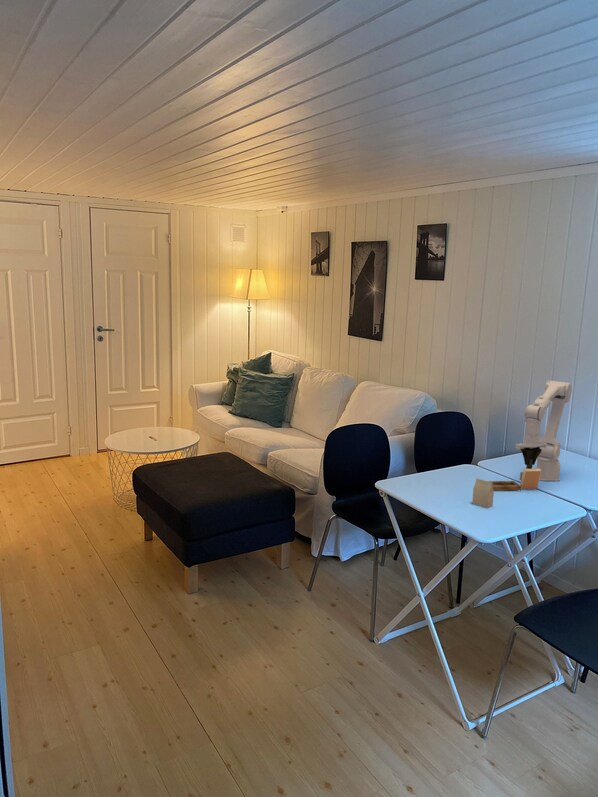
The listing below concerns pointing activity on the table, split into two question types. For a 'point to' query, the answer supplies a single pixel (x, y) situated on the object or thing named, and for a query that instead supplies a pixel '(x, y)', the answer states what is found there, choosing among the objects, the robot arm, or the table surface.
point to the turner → (527, 467)
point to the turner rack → (505, 486)
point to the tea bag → (483, 493)
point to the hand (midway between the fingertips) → (529, 464)
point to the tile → (530, 478)
